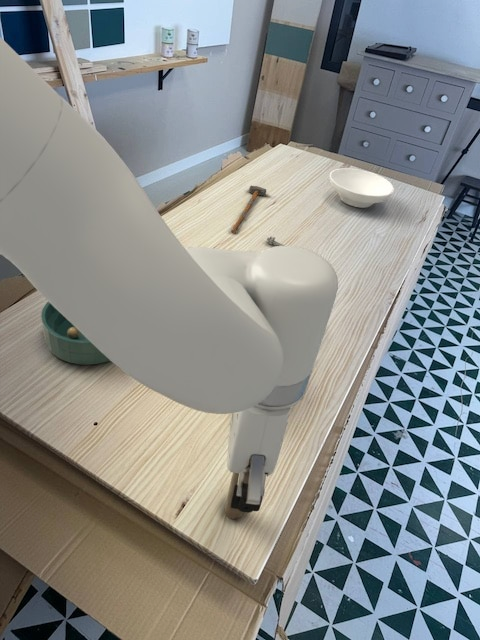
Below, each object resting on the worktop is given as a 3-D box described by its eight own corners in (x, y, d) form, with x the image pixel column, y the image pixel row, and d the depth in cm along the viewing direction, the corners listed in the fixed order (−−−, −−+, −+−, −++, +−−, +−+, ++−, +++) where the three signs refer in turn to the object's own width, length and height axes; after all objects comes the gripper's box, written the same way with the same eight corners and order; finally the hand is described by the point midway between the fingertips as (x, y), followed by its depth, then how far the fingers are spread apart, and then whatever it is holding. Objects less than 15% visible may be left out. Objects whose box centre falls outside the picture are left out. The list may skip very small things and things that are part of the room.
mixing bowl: (71, 380, 74) (67, 355, 71) (30, 327, 82) (25, 302, 79) (151, 344, 83) (152, 321, 80) (108, 299, 91) (107, 276, 88)
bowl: (325, 183, 151) (331, 163, 147) (385, 196, 150) (392, 176, 146) (321, 208, 136) (328, 186, 132) (388, 223, 135) (396, 201, 131)
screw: (266, 243, 117) (269, 235, 117) (306, 261, 115) (309, 253, 115) (265, 241, 115) (268, 234, 115) (305, 259, 113) (309, 252, 113)
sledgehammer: (223, 232, 119) (241, 237, 118) (223, 225, 117) (242, 230, 117) (250, 190, 139) (266, 194, 139) (250, 184, 138) (267, 188, 137)
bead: (70, 342, 80) (69, 333, 79) (65, 335, 81) (64, 327, 80) (81, 338, 81) (80, 329, 80) (76, 331, 82) (75, 323, 81)
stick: (232, 522, 60) (244, 476, 53) (220, 508, 62) (231, 461, 55) (246, 512, 62) (259, 465, 55) (234, 498, 63) (246, 451, 56)
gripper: (237, 309, 51) (222, 408, 62) (223, 440, 38) (207, 537, 49) (304, 318, 51) (277, 415, 62) (314, 452, 38) (277, 545, 49)
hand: (246, 468), depth 56 cm, fingers open, 9 cm apart
